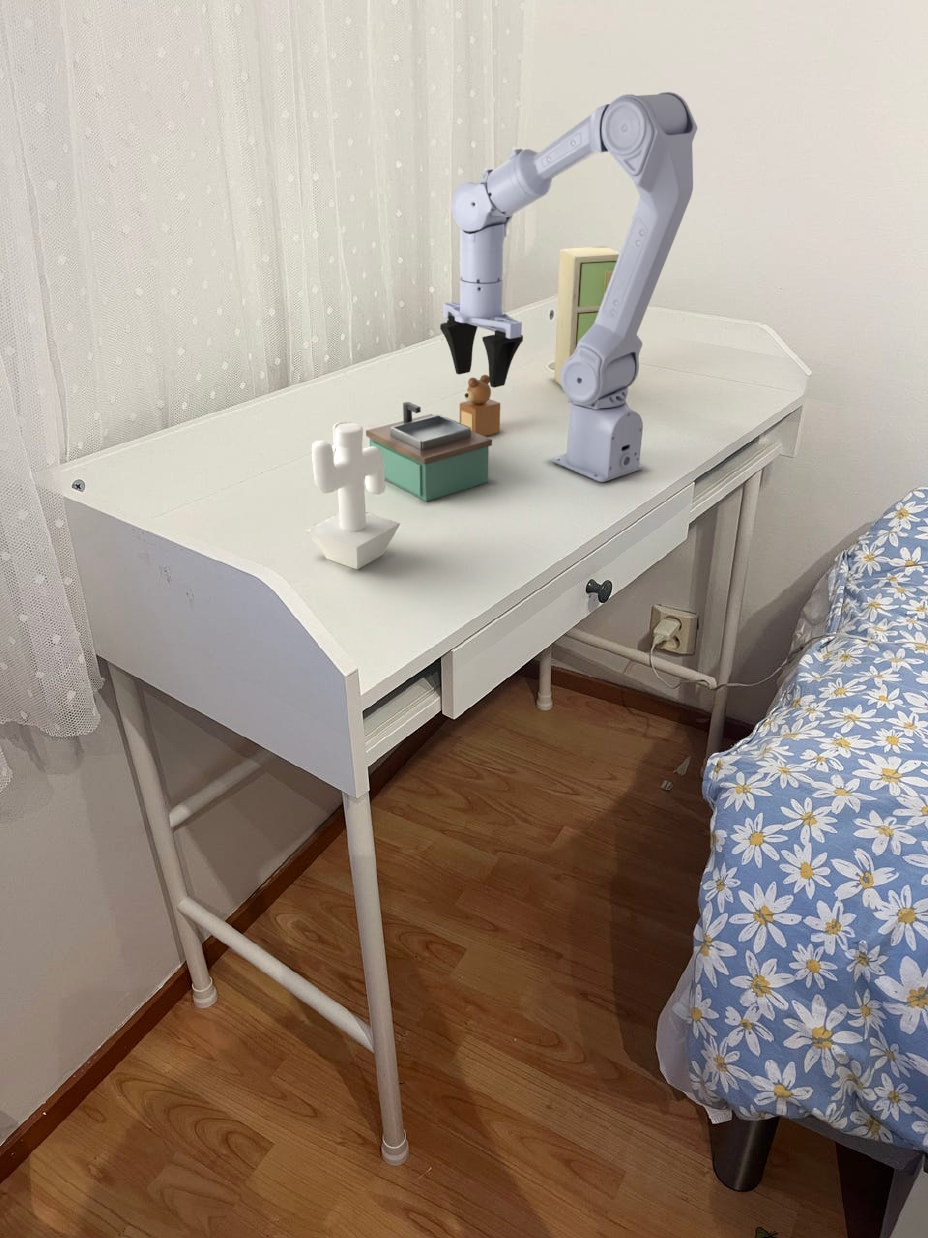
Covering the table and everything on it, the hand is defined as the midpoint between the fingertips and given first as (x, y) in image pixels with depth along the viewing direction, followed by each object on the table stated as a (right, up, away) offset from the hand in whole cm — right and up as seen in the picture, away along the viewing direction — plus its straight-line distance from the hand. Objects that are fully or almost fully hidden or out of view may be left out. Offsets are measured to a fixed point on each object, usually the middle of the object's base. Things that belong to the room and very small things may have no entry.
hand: (480, 379), depth 137 cm
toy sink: (-7, -15, -11) cm, 20 cm away
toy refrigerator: (+17, +5, +24) cm, 30 cm away
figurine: (-14, -27, -30) cm, 43 cm away
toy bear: (0, -7, +4) cm, 8 cm away
